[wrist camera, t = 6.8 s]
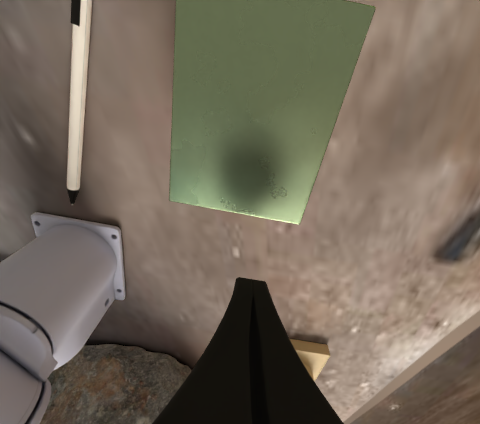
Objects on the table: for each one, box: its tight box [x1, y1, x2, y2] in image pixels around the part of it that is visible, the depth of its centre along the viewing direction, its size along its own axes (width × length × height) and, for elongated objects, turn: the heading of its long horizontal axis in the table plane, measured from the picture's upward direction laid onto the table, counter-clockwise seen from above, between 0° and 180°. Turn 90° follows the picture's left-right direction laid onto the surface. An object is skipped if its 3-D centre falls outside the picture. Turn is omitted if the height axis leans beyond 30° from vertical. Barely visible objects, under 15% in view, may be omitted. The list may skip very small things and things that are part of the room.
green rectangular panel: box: [169, 0, 376, 224], centre depth 12 cm, size 10×8×1 cm
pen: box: [67, 0, 92, 205], centre depth 16 cm, size 1×19×1 cm, turn 158°
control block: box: [290, 339, 330, 381], centre depth 29 cm, size 10×8×3 cm
